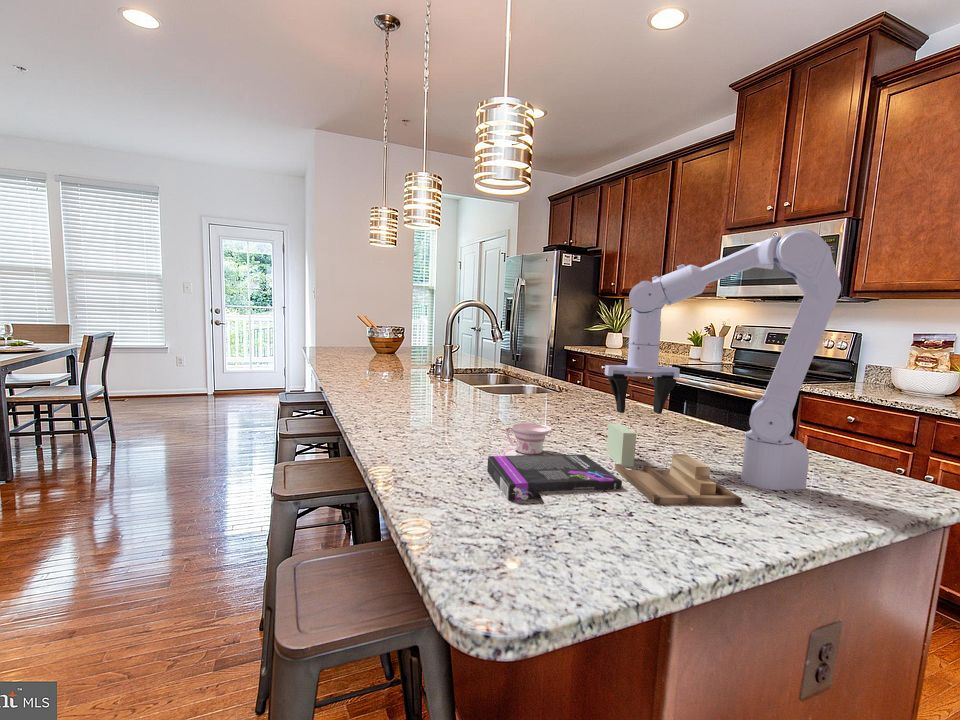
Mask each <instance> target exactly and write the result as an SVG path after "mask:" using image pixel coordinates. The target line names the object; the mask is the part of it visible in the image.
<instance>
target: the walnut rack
mask: <svg viewBox="0 0 960 720" xmlns="http://www.w3.org/2000/svg"><path fill="white" fill-rule="evenodd" d="M642 466H643V467H642V469H629V468H627V467H623V466H622V465H621V464H617V463H614V470H615V471H616V472H617V474H619V475H620V476H621V477H622V478H624V479H625V480H626V481H627V483H629V484H630V485H632V486H633V487H634V488H635V489H636V490H637V491H638V492H639V493H640V494H642V495H643V496H644V497H645V498H646V499H647V500H648V501H649V502H651V503H652V504H653V505H700V506H701V505H702V506H703V505H705V506H706V505H707V506H708V505H709V506H710V505H713V506H715V505H716V506H717V505H720V506H721V505H722V506H723V505H725V506H728V505H731V506H735V505H736V506H739V505H740V506H742V499H743V498H742V497H740V496H739V495H737V494H736V493H734V492H732V490H729V489H728V488H726V487H724V486H722V485H721V484H719V483H717V481H715V480H713V479H711V478H710V477H709V480H711V481H713V482H714V483H716V492H715V496H711V495H698V494H697V493H695V492H694V491H692V490H691V489H690V488H688V487H687V486H685V485H684V484H682V483H681V482H680V481H678V480H677V479H675V478H674V477H672V476H671V475H670V469H654V468H653V467H652V466H651V465H649V464H646V463H645V464H643V465H642Z"/></svg>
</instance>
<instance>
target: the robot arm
mask: <svg viewBox="0 0 960 720" xmlns="http://www.w3.org/2000/svg"><path fill="white" fill-rule="evenodd" d="M775 264H776V265H777V266H778V268H779V269H780V270H781V271H782V272H784V273H785V274H787V275H788V276H789V277H790V278H792V279H794V281H795V283H796V284H797V286H798V287H799V288H800V291H802V293H803V298H802V300H801V303H800V305H799V308H798V309H797V313H796V316H795V317H794V320H793V323H792V326H791V327H790V330H789V332H788V335H787V337H786V340H785V343H784V345H783V347H782V350H781V352H780V356H778V360H777V363H776V365H775V368H774V370H773V372H772V375H771V378H770V380H769V382H768V384H767V387H765V388H766V389H765V390H764V394H763V395H762V397H761V398H760V399H758V401H756V402H755V403H754V404H753V405H752V408H751V409H750V410H751V411H750V415H749V419H748V421H749V422H748V423H749V427H750V430H747V431H745V437H744V447H743V456H742V466H741V475H740V476H741V477H740V480H741V481H742V482H743V483H745V484H747V485H749V486H753V487H755V488H756V487H757V488H760V489H764V490H772V491H785V490H806V489H807V481H808V473H809V471H808V470H809V464H810V463H809V461H810V459H809V458H810V457H809V452H808V449H807V446H806V445H805V444H804V443H803V442H801V441H800V440H798V439H794V437H793V436H791V433H792V432H793V429H794V419H793V411H794V409H795V406H796V403H797V399H798V397H799V393H800V390H801V387H802V385H803V383H804V381H805V378H806V375H807V374H808V373H807V372H808V371H809V368H810V366H811V364H812V361H813V359H814V356H815V354H816V352H817V349H818V346H819V344H820V342H821V340H822V337H823V335H824V332H825V331H826V328H827V325H828V322H829V321H830V318H831V315H832V313H833V311H834V309H835V307H836V304H837V301H838V299H839V296H840V294H841V291H842V284H841V280H840V277H839V273H838V271H837V268H836V265H835V261H834V258H833V255H832V248H831V246H830V245H829V244H828V243H827V242H826V241H825V240H824V239H823V238H822V236H821V235H819V233H817V232H815V231H814V230H811V229H807V228H805V229H804V228H800V229H799V228H798V229H795V230H792V231H789V232H788V233H786V234H785V235H784V236H782V234H780V235H776V236H772V237H769V238H767V239H764V240H761V241H759V242H757V243H754V244H752V245H750V246H747V247H745V248H743V249H740V250H739V251H736V252H733V253H731V254H730V255H727V256H725V257H722V258H720V259H718V260H716V261H713V262H711V263H709V264H707V265H704V266H702V267H699V266H697V265H694V264H688V265H685V264H684V263H682V264H680V265H677V266H676V270H674V271H671V272H669V273H667V274H664V275H662V276H659V275H655V276H653V277H651V281H650V280H641V281H640V282H638V283H637V284H636V285H634V286H633V287H632V288H631V290H630V292H629V296H628V300H629V301H628V302H629V304H630V306H631V317H630V322H629V336H628V352H627V363H626V364H623V365H622V364H618V365H617V364H613V365H612V364H611V365H609V364H605V365H604V375H605V376H607V380H608V382H609V384H610V387H611V389H612V392H613V395H614V400H615V406H616V411H617V412H618V413H620V414H625V413H626V412H625V410H626V397H627V391H628V385H629V383H630V380H629V379H627V377H646V378H647V377H651V378H653V379H652V381H653V393H654V397H653V409H652V410H653V412H654V413H655V414H658V415H661V414H662V412H663V409H664V407H665V404H666V401H667V399H668V397H669V395H670V394H671V391H673V389H674V388H675V386H676V385H677V379H679V378H680V370H681V368H679V367H675V366H673V367H672V366H659V357H660V356H659V355H660V343H661V342H660V341H661V328H662V320H661V318H662V317H661V316H662V309H663V308H664V306H665V305H666V306H671V305H673V304H677V303H679V302H682V301H684V300H687V299H689V298H692V297H695V296H699V295H701V294H703V292H704V290H705V289H706V286H707V285H708V284H710V283H713V282H716V281H719V280H722V279H725V278H727V277H730V276H733V275H736V274H739V273H742V272H744V271H748V270H750V269H753V268H756V269H757V268H759V269H766V270H774V265H775Z"/></svg>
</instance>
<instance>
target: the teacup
mask: <svg viewBox="0 0 960 720" xmlns="http://www.w3.org/2000/svg"><path fill="white" fill-rule="evenodd" d="M509 427H510V428H509ZM509 427H508V428H505V431H506V437H507V440H508V441H509V442H510V444H511V445H512V446H508V447H505V448H502V449H501V450H500V451H499V456H518V453H521V454H524V455H540V454H541V453H543V452H544V451H549V449H547V448H544V446H543V445H544V440H545V439H546V436H547V435H548V434H549V433H550V431H552V427H551V426H548V425H546V424H541V423H535V422H516V423H515V422H514V423H512V424H509ZM510 432H512V433H513V434H514V437H515V440H516V442H514V441H513V440H512V438H511V436H510V434H509V433H510ZM516 451H517V452H518V453H517V452H516Z"/></svg>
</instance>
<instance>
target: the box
mask: <svg viewBox="0 0 960 720" xmlns="http://www.w3.org/2000/svg"><path fill="white" fill-rule="evenodd" d="M486 468H487V473H488V474H489V475H490V477H491V479H492V480H493V481H494V482H495V484H496V485H497V487H498V488H499V489H500V491H501V492H502V494H503V495H504V496H505V498H506V499H507V501H526V500H527V501H528V500H542V499H543V498H542V496H541V495H540V494H545V493H565V492H566V493H567V492H586V491H591V492H592V491H608V490H609V491H610V490H611V491H612V490H622V487H623V486H622V485H623V480H622V479H620V478H618V477H616V476H615V475H614V474H613V473H611V472H610V471H608V470H607V469H606V468H604V467H603V466H602V465H600V464H598V463H597V462H596V461H594V460H593V459H591V458H589V457H588V456H587V454H541V455H540V454H535V455H530V454H524V455H517V456H500V455H491V456H490V455H488V456H487V467H486Z"/></svg>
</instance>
